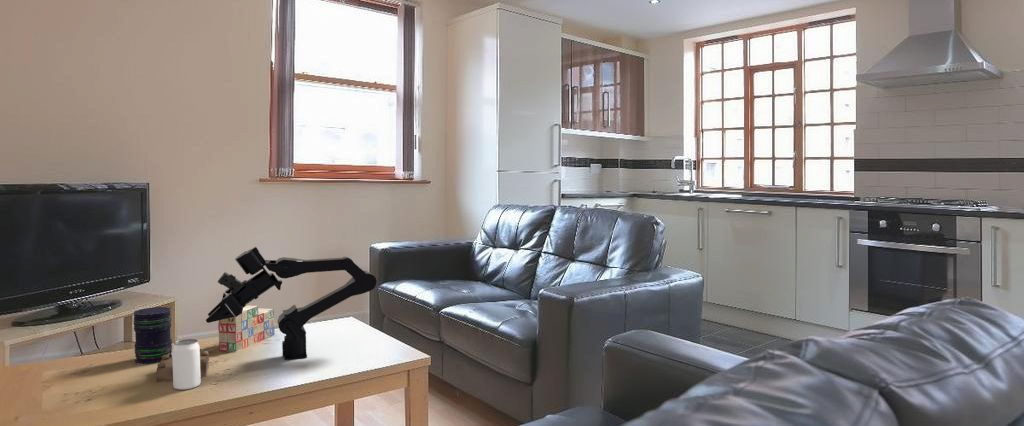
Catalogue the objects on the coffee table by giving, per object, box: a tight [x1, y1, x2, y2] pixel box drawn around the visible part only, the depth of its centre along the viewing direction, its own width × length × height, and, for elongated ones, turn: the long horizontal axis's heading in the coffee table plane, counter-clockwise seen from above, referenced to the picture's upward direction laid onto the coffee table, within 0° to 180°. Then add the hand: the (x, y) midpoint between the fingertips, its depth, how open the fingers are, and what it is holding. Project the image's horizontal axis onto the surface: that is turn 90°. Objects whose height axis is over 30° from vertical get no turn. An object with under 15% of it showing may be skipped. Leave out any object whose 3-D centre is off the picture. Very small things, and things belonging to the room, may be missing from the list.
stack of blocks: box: [217, 305, 275, 352], centre depth 208 cm, size 21×6×12 cm, turn 169°
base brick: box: [156, 350, 210, 382], centre depth 176 cm, size 12×10×4 cm
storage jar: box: [133, 306, 173, 365], centre depth 189 cm, size 10×10×15 cm
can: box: [171, 338, 202, 391], centre depth 165 cm, size 6×6×12 cm
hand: (207, 318), depth 182 cm, fingers open, 9 cm apart
